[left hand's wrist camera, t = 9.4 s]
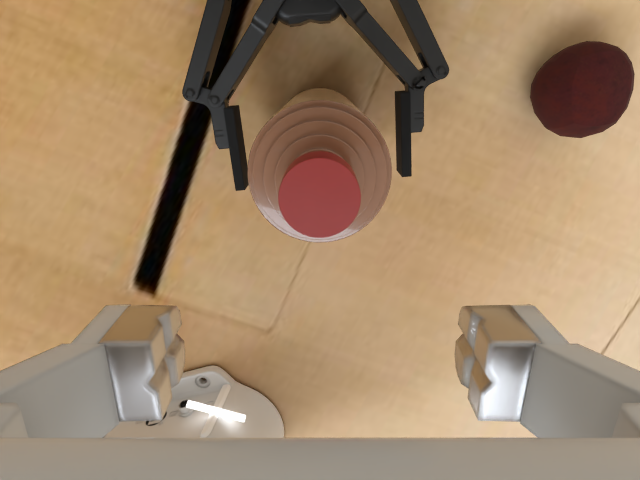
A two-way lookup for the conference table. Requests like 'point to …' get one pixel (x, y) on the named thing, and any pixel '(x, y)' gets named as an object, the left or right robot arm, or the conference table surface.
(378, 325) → the conference table surface
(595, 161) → the conference table surface
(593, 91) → the dark maroon ball
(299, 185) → the cap
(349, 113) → the bottle
